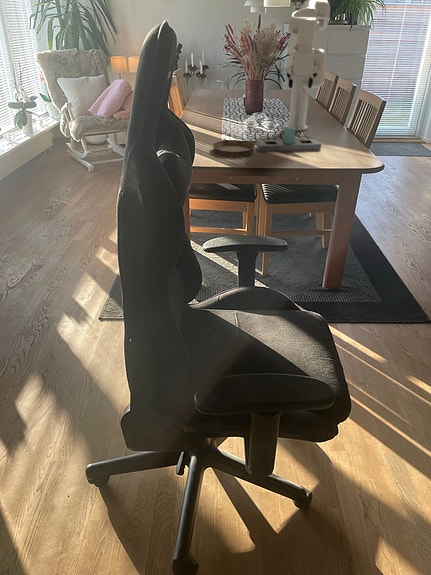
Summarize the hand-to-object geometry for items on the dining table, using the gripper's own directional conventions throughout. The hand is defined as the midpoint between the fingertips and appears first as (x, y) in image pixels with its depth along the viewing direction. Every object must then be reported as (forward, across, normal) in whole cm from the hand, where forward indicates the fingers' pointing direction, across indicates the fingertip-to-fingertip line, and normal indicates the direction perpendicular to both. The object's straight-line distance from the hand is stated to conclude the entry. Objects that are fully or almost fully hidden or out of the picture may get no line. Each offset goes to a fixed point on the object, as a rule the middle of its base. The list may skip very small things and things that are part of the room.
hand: (300, 87), depth 226 cm
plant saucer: (+26, -35, -14) cm, 46 cm away
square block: (+26, -7, -12) cm, 30 cm away
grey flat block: (+26, -7, -12) cm, 30 cm away
